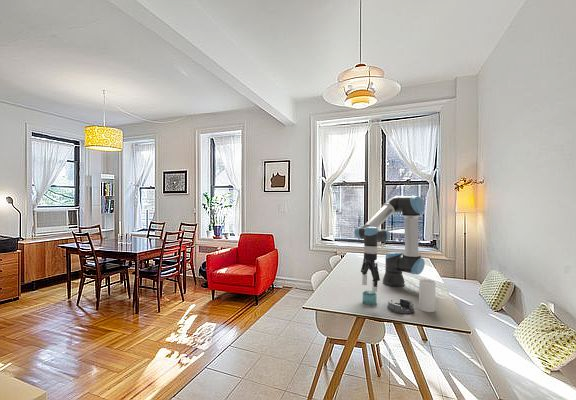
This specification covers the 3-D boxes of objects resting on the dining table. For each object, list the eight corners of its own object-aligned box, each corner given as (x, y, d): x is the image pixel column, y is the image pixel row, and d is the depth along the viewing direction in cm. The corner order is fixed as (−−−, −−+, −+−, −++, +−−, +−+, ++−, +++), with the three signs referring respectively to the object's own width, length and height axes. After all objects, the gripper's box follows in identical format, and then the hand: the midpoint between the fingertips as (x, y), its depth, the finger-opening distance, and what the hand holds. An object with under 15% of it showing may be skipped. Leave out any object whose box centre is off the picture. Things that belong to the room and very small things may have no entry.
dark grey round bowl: (404, 304, 170) (405, 297, 170) (419, 313, 156) (419, 306, 156) (382, 305, 168) (383, 298, 167) (395, 314, 154) (395, 307, 154)
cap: (372, 299, 176) (372, 290, 176) (378, 304, 168) (379, 294, 168) (360, 300, 175) (360, 290, 175) (366, 305, 167) (366, 295, 167)
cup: (416, 306, 166) (416, 279, 166) (429, 306, 167) (430, 279, 167) (423, 312, 158) (424, 283, 158) (438, 312, 159) (438, 283, 158)
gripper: (356, 249, 183) (355, 282, 183) (374, 256, 158) (373, 295, 158) (367, 249, 184) (366, 282, 184) (386, 256, 160) (385, 295, 159)
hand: (369, 288), depth 171 cm, fingers open, 13 cm apart
